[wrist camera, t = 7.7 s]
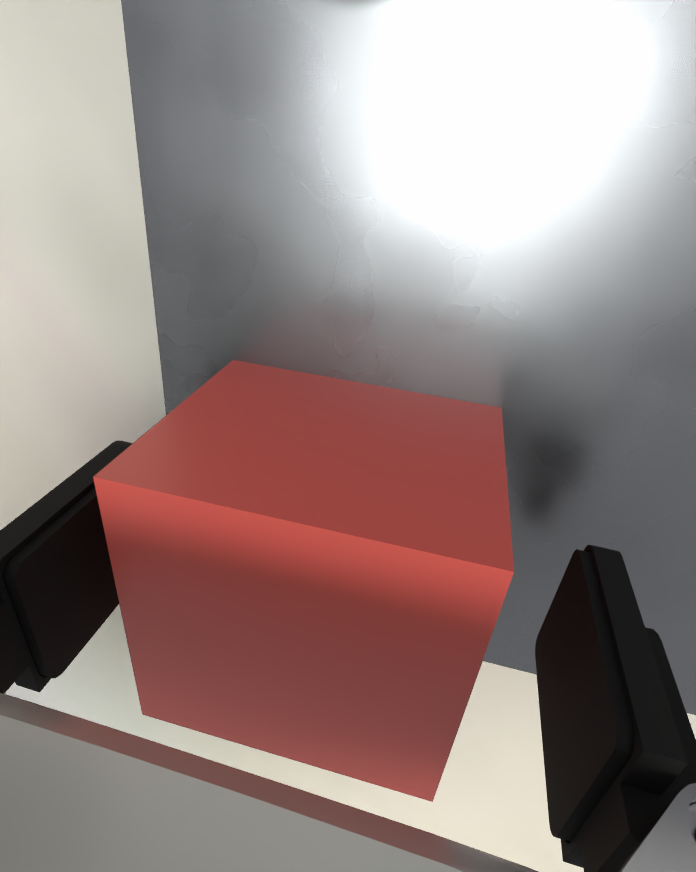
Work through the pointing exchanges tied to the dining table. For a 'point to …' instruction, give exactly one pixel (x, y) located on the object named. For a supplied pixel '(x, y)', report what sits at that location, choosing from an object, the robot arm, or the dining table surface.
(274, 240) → the board
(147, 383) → the dining table surface
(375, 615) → the red block
